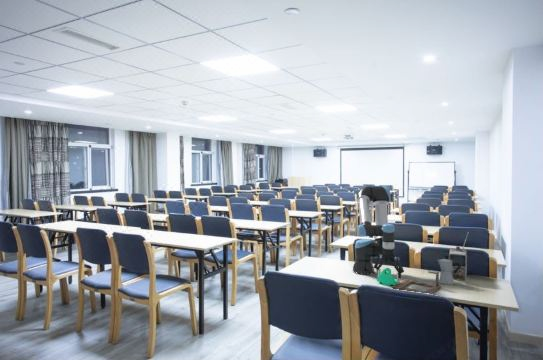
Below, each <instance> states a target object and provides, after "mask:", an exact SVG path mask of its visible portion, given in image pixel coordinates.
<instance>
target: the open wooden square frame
mask: <svg viewBox="0 0 543 360" xmlns="http://www.w3.org/2000/svg"><path fill="white" fill-rule="evenodd" d="M439 272H440V271H431V270H430V271H429V270H428V271H427V273H428V274H433V275H435V284H433V283H427V282H423V281H417V280H413V279H408V278H405V279H404V280H400V283H398V284H396V285H391V289H393V288H395V289H394V290H397V289H400V290H399V291H402V290H407V291H414V292H421V293H429V294H431V295H433V294H435V292H437V291H439V290H440V289H441V285H440V284H439V283H440V282H439V279H440V274H439ZM411 284H413V285H417V286H423V287H428V288H429V289H427V290H426V291H423V290H417V289H413V288H409V287H408V286H410V285H411ZM407 291H406V292H407Z"/></svg>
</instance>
